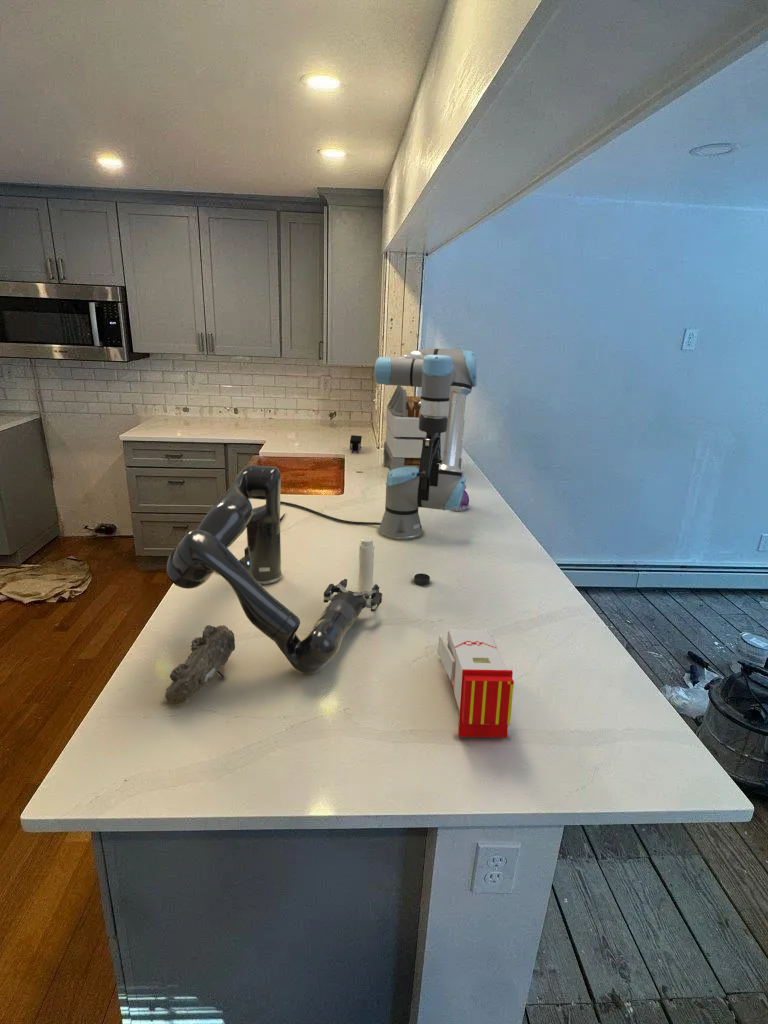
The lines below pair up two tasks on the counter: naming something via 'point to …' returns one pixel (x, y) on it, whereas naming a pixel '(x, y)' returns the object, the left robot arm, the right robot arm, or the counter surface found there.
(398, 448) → the white storage crate
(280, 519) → the feather
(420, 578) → the lid
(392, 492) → the right robot arm
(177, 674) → the fossil
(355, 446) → the figurine character
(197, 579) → the left robot arm
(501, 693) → the toy
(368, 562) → the bottle
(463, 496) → the figurine
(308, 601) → the counter surface
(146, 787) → the counter surface
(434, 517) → the counter surface
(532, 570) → the counter surface
